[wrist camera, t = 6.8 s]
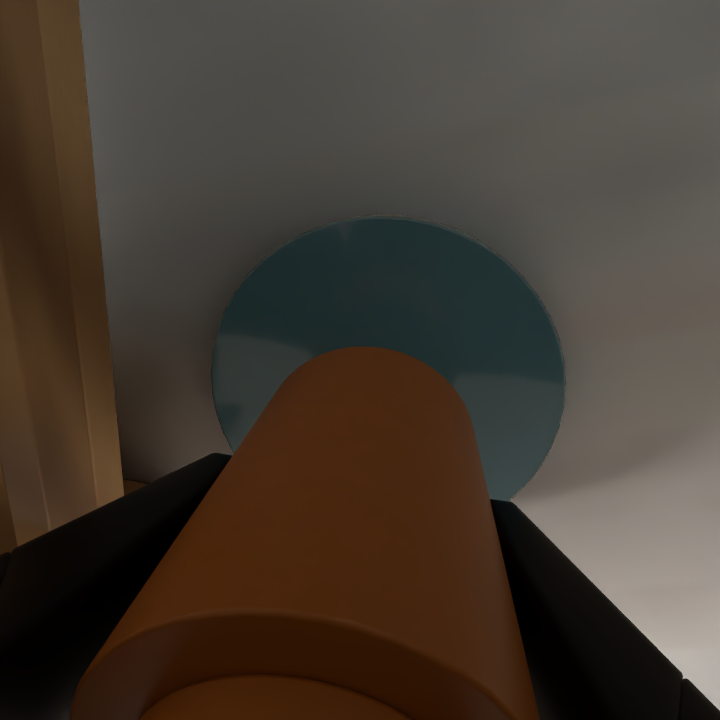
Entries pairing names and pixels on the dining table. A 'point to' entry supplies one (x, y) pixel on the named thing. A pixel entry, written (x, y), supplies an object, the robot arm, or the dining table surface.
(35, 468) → the spice rack
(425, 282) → the coaster
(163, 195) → the dining table surface
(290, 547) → the amber bottle
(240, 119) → the dining table surface
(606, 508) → the dining table surface
